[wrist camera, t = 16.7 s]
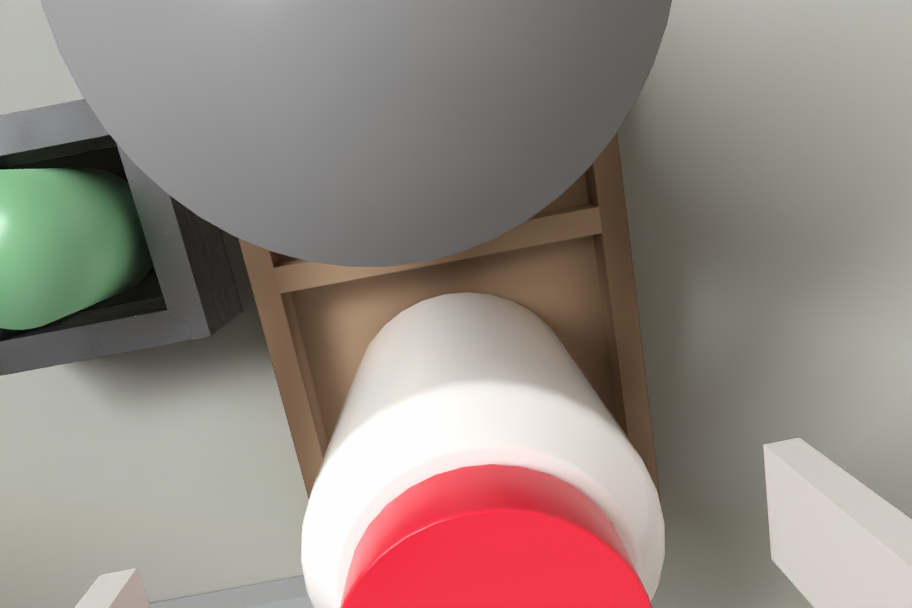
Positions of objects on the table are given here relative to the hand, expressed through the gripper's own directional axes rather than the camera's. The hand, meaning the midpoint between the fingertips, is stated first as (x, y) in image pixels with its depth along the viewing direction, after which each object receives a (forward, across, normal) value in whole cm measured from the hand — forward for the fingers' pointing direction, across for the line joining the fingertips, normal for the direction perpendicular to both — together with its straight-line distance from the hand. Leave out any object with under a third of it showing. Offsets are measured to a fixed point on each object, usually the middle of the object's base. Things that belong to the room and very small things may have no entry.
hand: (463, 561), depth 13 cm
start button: (+9, -10, +8) cm, 15 cm away
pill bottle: (+9, +1, 0) cm, 9 cm away
